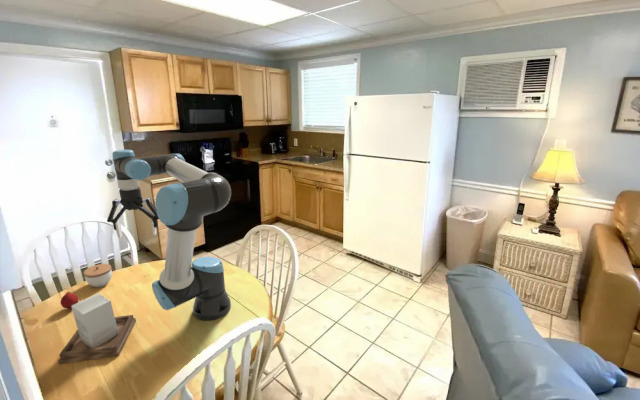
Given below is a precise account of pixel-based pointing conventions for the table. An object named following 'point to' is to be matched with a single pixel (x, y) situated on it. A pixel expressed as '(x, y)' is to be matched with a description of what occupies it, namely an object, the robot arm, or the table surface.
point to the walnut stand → (110, 348)
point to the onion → (69, 300)
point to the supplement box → (95, 320)
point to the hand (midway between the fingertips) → (137, 235)
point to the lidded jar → (98, 275)
